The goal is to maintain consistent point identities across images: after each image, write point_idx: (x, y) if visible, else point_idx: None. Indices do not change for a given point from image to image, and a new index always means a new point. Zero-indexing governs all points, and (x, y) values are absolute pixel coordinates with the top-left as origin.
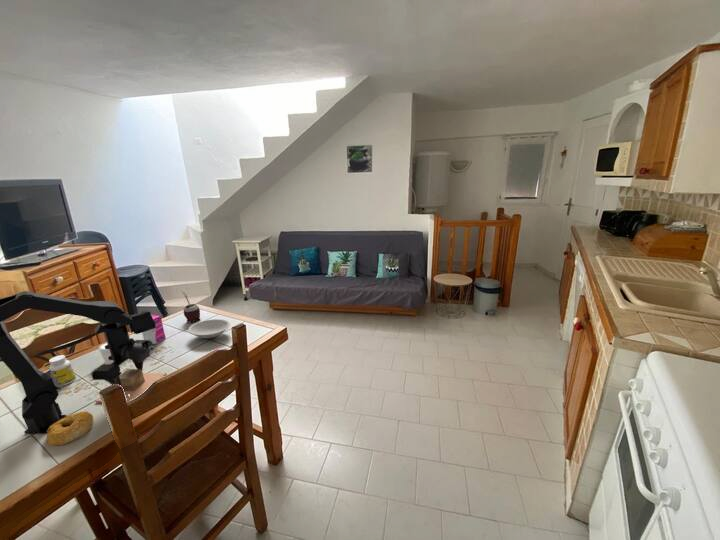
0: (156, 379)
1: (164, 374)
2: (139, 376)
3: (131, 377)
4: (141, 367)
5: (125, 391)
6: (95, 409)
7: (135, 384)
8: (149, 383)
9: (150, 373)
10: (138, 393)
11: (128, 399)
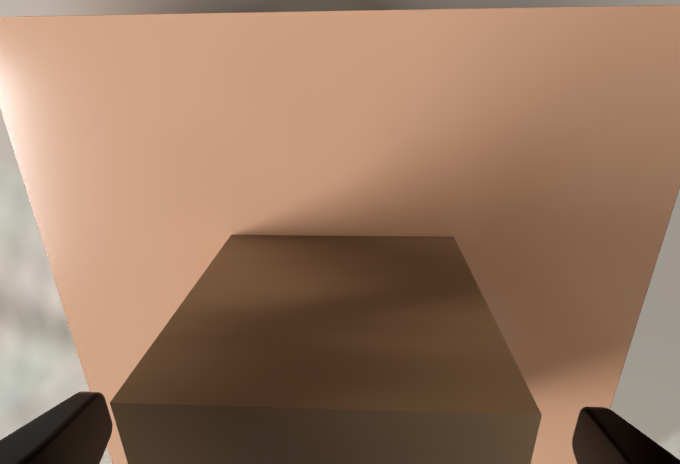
0: (163, 70)
1: (10, 17)
2: (271, 317)
3: (484, 426)
4: (34, 444)
5: None
6: (673, 448)
7: (410, 276)
8: (271, 126)
9: (63, 272)
10: (518, 135)
11: (645, 195)
